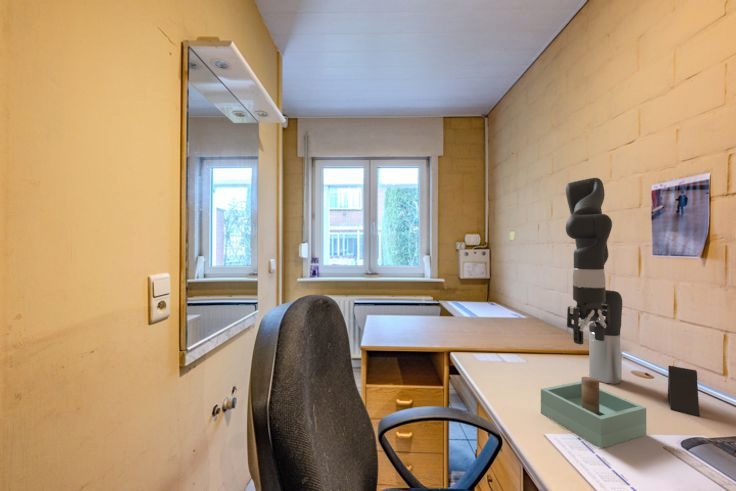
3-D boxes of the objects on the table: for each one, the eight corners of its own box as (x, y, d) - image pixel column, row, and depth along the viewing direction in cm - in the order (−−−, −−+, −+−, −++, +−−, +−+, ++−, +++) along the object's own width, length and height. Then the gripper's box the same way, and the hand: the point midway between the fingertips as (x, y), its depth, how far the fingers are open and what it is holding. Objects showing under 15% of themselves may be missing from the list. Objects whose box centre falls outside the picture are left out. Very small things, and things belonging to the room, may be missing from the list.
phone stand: (699, 417, 88) (699, 375, 88) (670, 409, 92) (670, 370, 92) (694, 405, 95) (694, 366, 95) (667, 398, 99) (667, 361, 99)
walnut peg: (588, 418, 87) (588, 375, 87) (603, 425, 84) (602, 381, 84) (578, 420, 86) (578, 377, 86) (592, 428, 82) (592, 383, 82)
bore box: (581, 403, 96) (581, 381, 96) (646, 434, 79) (646, 407, 80) (540, 412, 90) (540, 388, 90) (601, 448, 74) (601, 419, 74)
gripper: (592, 282, 92) (592, 336, 92) (558, 284, 87) (558, 341, 87) (620, 285, 85) (620, 343, 85) (584, 287, 80) (584, 349, 80)
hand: (589, 342), depth 86 cm, fingers open, 8 cm apart
